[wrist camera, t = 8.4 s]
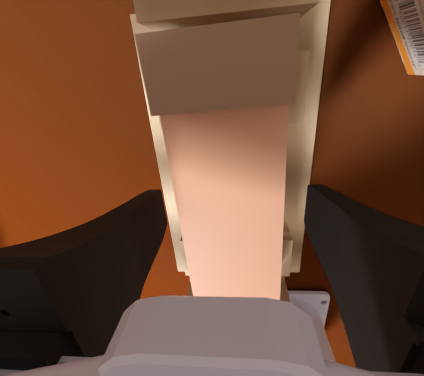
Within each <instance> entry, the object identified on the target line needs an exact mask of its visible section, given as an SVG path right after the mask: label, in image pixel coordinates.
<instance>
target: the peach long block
mask: <svg viewBox="0 0 424 376" xmlns="http://www.w3.org/2000/svg"><path fill="white" fill-rule="evenodd" d="M299 27H300V13H293V14H285V15H277V16H270V17H262V18H254V19H247V20H239V21H231V22H223V23H216V24H208V25H200V26H193V27H185V28H177V29H169V30H162V31H154V32H146V33H139V34H135V39H136V44H137V49H138V54H139V59H140V64H141V69H142V74H143V79H144V84H145V89H146V94H147V99H148V104H149V109H150V114H151V116H160V120H161V126H162V131H163V136H164V142H165V147H166V153H167V158H168V163H169V169H170V174H171V179H172V185H173V190H174V196H175V201H176V206H177V212H178V217H179V222H180V228H181V233H182V239H183V244H184V249H185V255H186V260H187V266H188V271H189V276H190V282H191V287H192V292H193V296H213V297H266V298H271V299H276V300H280V291H281V268H282V246H283V224H284V202H285V179H286V157H287V135H288V112H289V104H295V99H296V81H297V63H298V45H299Z"/></svg>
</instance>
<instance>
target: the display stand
mask: <svg viewBox="0 0 424 376" xmlns="http://www.w3.org/2000/svg"><path fill="white" fill-rule="evenodd" d="M133 3H134V8H135V14H131V15H130V18H131V23H132V29H133V34H134V39H135V34H139V33H146V32H154V31H162V30H169V29H177V28H185V27H193V26H200V25H208V24H216V23H223V22H231V21H239V20H247V19H254V18H262V17H270V16H277V15H285V14H293V13H300V27H299V45H298V63H297V81H296V99H295V104H289V112H288V135H287V157H286V179H285V202H284V224H283V246H282V268H281V291H280V300H281V301H286V302H290V298H289V294H288V290H287V285H286V281H285V277H284V276H290V272H300V263H301V255H302V246H303V237H304V229H305V224H304V214H305V205H306V196H307V187H308V185H310V176H311V168H312V159H313V150H314V142H315V133H316V124H317V116H318V107H319V98H320V90H321V81H322V72H323V63H324V55H325V46H326V37H327V29H328V20H329V11H330V3H331V0H133ZM135 44H136V39H135ZM136 50H137V55H138V60H139V66H140V71H141V76H142V82H143V87H144V92H145V98H146V103H147V108H148V114H149V119H150V124H151V130H152V135H153V140H154V145H155V151H156V156H157V161H158V167H159V172H160V177H161V183H162V188H163V193H164V199H165V204H166V209H167V215H168V220H169V225H170V231H171V236H172V241H173V247H174V252H175V257H176V262H177V268H178V271H185V274H186V275H189V271H188V266H187V260H186V255H185V249H184V244H183V239H182V233H181V228H180V222H179V217H178V212H177V206H176V201H175V196H174V190H173V185H172V179H171V174H170V169H169V163H168V158H167V153H166V147H165V142H164V136H163V131H162V126H161V120H160V116H151V114H150V109H149V104H148V99H147V94H146V89H145V84H144V79H143V74H142V69H141V64H140V59H139V54H138V49H137V44H136ZM187 296H193V292H192V287H191V282H190V285H189V290H188V295H187Z"/></svg>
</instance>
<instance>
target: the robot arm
mask: <svg viewBox="0 0 424 376" xmlns="http://www.w3.org/2000/svg"><path fill="white" fill-rule="evenodd" d="M304 224H305V227H306V231H307V234H308V237H309V240H310V242H311V244H312V246H313V248H314V250H315V253H316V255H317V257H318V259H319V261H320V263H321V265H322V267H323V269H324V271H325V274H326V276H327V278H328V280H329V283H330V285H331V288H332V290H333V293H334V296H335V299H336V302H337V305H338V308H339V311H340V314H341V317H342V320H343V324H344V327H345V330H346V333H347V337H348V340H349V343H350V347H351V350H352V354H353V357H354V360H355V364H356V368H355V367H351V366H347V365H344V364H340V363H336V361H335V358H334V355H333V352H332V349H331V347H330V344H329V341H328V338H327V335H326V332H325V329H324V326H325V321H326V317H327V312H328V307H329V302H330V295H329V293H328V292H326V291H288V294H289V298H290V302H286V301H281V300H276V299H271V298H266V297H213V296H155V297H150V298H144V299H140V296H141V292H142V289H143V286H144V283H145V280H146V278H147V275H148V273H149V271H150V268H151V266H152V264H153V261H154V259H155V257H156V255H157V252H158V250H159V248H160V245H161V243H162V241H163V238H164V234H165V230H166V226H167V219H166V214H165V209H164V204H163V198H162V193H161V190H148V191H145V192H143V193H141V194H140V195H138V196H136V197H134V198H133V199H131V200H129V201H128V202H126V203H124V204H122V205H121V206H119V207H117V208H115V209H113V210H111V211H110V212H108V213H106V214H104V215H102V216H100V217H98V218H96V219H94V220H91V221H89V222H87V223H84V224H82V225H80V226H77V227H74V228H71V229H69V230H66V231H63V232H60V233H57V234H54V235H51V236H48V237H44V238H41V239H37V240H34V241H30V242H26V243H22V244H18V245H13V246H9V247H4V248H0V376H424V227H423V226H420V225H416V224H413V223H410V222H407V221H404V220H401V219H398V218H395V217H392V216H390V215H387V214H384V213H382V212H379V211H377V210H375V209H372V208H370V207H368V206H365V205H363V204H361V203H359V202H357V201H355V200H353V199H351V198H349V197H347V196H345V195H343V194H341V193H339V192H337V191H335V190H333V189H331V188H329V187H327V186H324V185H321V184H319V185H308V187H307V196H306V205H305V214H304ZM139 299H140V300H139Z"/></svg>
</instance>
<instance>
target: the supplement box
mask: <svg viewBox="0 0 424 376" xmlns="http://www.w3.org/2000/svg"><path fill="white" fill-rule="evenodd" d="M380 4H381V6H382V8H383V9H384V12H385V16H386V18H387V20H388V23H389V26H390V28H391V31H392V34H393V37H394V39H395V41H396V45H397V47H398V50H399V53H400V55H401V58H402V61H403V63H404V65H405V69H406V71H407V74H409V75H424V0H380Z"/></svg>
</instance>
